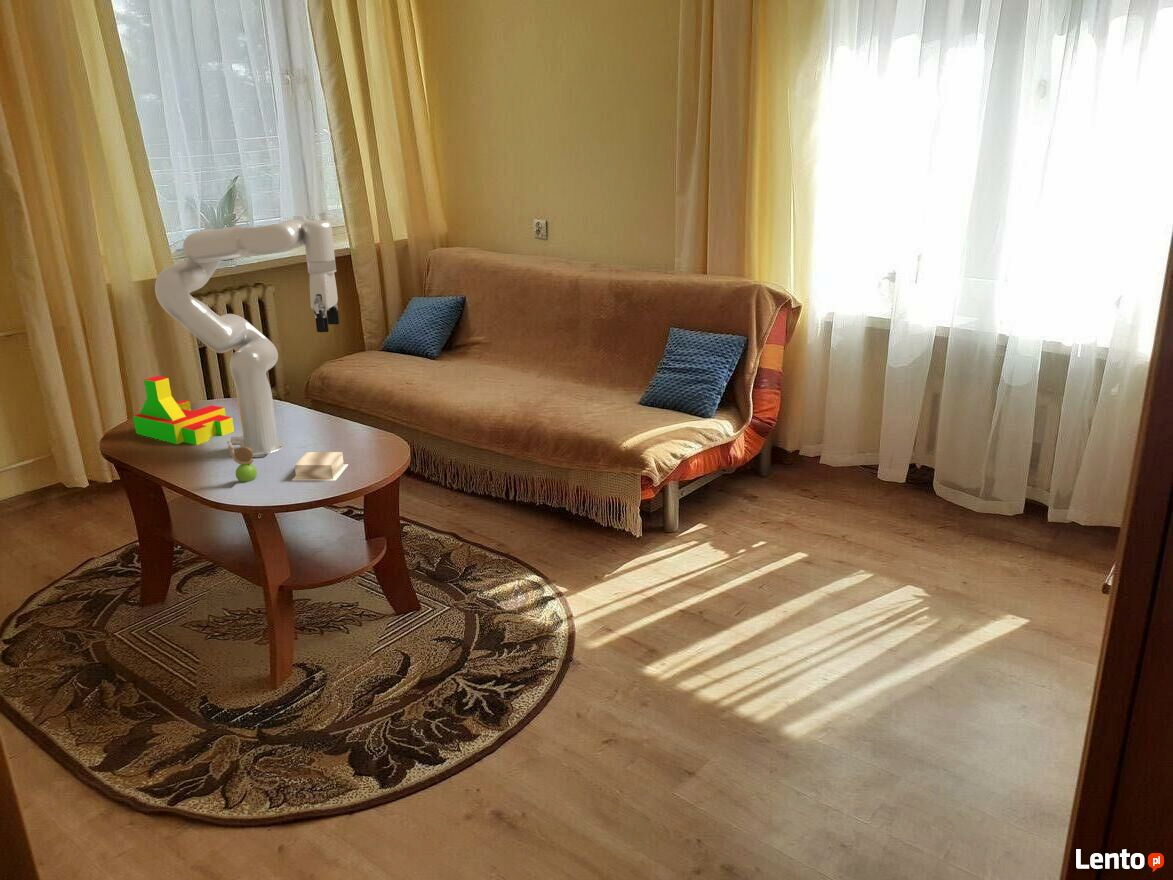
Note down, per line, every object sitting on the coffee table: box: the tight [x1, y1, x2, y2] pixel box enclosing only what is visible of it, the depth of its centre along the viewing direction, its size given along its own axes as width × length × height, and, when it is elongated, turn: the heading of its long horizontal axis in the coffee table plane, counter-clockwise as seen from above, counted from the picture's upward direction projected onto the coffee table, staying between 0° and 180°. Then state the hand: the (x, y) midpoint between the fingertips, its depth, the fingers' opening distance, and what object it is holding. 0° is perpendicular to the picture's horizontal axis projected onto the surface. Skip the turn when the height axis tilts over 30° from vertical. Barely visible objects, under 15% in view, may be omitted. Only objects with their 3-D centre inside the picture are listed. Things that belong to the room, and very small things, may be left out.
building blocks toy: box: [132, 375, 235, 446], centre depth 288 cm, size 19×25×18 cm
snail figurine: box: [226, 440, 258, 483], centre depth 248 cm, size 5×6×12 cm
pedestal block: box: [294, 451, 345, 479], centre depth 253 cm, size 10×10×4 cm
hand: (328, 328), depth 260 cm, fingers open, 9 cm apart
